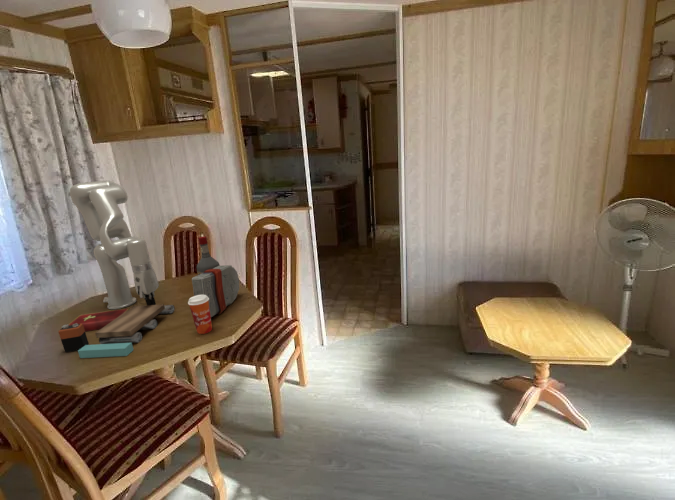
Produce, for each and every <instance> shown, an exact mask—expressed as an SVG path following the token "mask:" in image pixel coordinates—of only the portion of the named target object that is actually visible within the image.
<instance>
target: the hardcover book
mask: <svg viewBox="0 0 675 500" xmlns="http://www.w3.org/2000/svg"><path fill="white" fill-rule="evenodd" d="M129 309H130V307H127V308H126V307H124V308H120V309H110V310H105V311H100V312H99V311H98V312H91V313H90V312H89V313H85V314H79V315H77V317H75V318H74V319H73V320H72V321H70V322H69V323H68V324H67V325H73V324H76V323H77V324H81V323H82V324H83V326H84V330H85V333H86V332H92V331H93V332H94V331H99V330H100V329H102V328H103V327H104V326H106V325H107V324H109V323H110V322H112V321H113V320H115V319H116V318H117V317H119V316H120V315H122V314H123V313H125V312H126V311H128V310H129Z"/></svg>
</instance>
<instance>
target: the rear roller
mask: <svg viewBox="0 0 675 500" xmlns="http://www.w3.org/2000/svg"><path fill="white" fill-rule="evenodd" d="M164 306H165V309H164V310H163V311H161V312H160V313H159V314H158V315H166V314H167V315H168V314H169V315H170V314H171V315H172V314H173V313H174V312H175V306H174V305H173V304H168V305H166V304H164Z"/></svg>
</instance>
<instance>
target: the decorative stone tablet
mask: <svg viewBox="0 0 675 500" xmlns="http://www.w3.org/2000/svg"><path fill="white" fill-rule="evenodd" d="M191 283H192V289H193V290H192V291H193V296H196V295H206V296H208V298H209V300H208V302H209V309H210V316H211V318H212V317H214V316H215V315H221V314H222V313H223V312H224V311H225V310H227V306H230V305H231V304H233V302H234V301H235V300H236V299H237V297H238V293H239V290H240V277H239V274H238V271H237V269H235V267H234V266H232V265H220V266H217V267H215V268H213V269H209V270H206V271H204V272H203V273H202V274H200V275H198V274H197V275H195V276H193V277H192V278H191Z"/></svg>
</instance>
